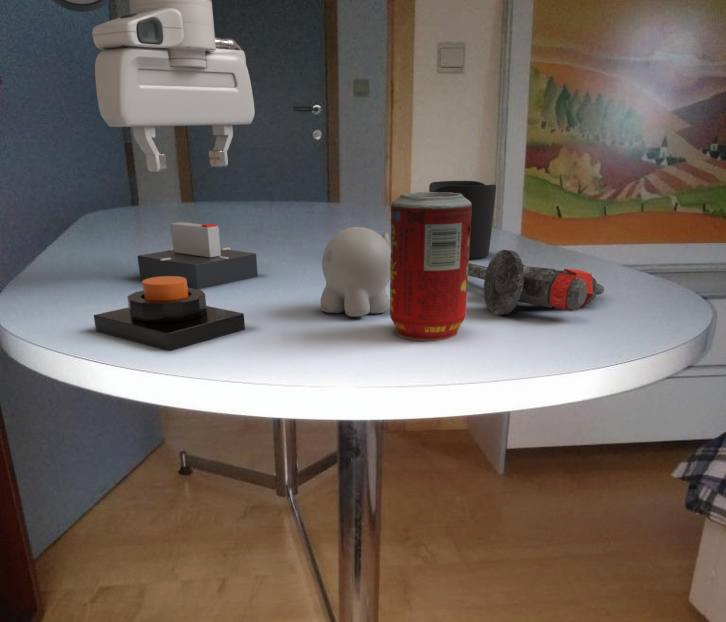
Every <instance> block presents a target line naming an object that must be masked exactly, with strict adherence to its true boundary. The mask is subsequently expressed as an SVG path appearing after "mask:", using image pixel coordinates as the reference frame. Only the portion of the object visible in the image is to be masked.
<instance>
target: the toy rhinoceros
mask: <svg viewBox="0 0 726 622" xmlns="http://www.w3.org/2000/svg"><path fill="white" fill-rule="evenodd" d="M390 259H391V238H389V234H388V232H387V231H384V232H383V234H382V235H381V234H379V233H378V232H377V231H375V230H374V229H371V228H368V227H363V226H352V227H347V228H345V229H342V230H340V231H339V232H337V233H336V234H335V235H334V236H332V237H331V239H329V241H328V243H327V244H326V245H325V248H324V251H323V254H322V259H321V267H322V274H323V277H324V279H325V286H324V289H323V291H322V293H321V296H320V302H319V303H320V309H321V310H322V311H323V312H325V313H329V314H342V313H343V312H344V313H345V315H346V316H348V317H351V318H355V317H365V316H366V315H368V314H374V315H375V314H383V313H386V312H387V311H388V309H389V296H388V293H387V289H386V288H387V286H388V284H389V283H390Z"/></svg>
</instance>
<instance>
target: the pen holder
mask: <svg viewBox="0 0 726 622" xmlns="http://www.w3.org/2000/svg"><path fill="white" fill-rule="evenodd" d="M428 186H429V187H428V192H439V193H440V192H447V193H460V194H462V195H463V196H464V197H465V198H466V199H467V200H469V201H470V202H471V204H472V216H471V233H470V250H469V261H476V260H482V259H485V258H487V257H488V256H489V255H490V254H489V253H490V246H491V240H492V230H493V221H494V213H495V203H496V194H497V185H496V184H494V183H493V184H485V183H484V182H480V181H476V180H441V181H440V180H439V181H432V182H430V183H429V185H428Z"/></svg>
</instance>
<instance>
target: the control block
mask: <svg viewBox="0 0 726 622" xmlns="http://www.w3.org/2000/svg"><path fill="white" fill-rule="evenodd" d="M188 296H189V297H186V298H181V299H176V300H165V301H159V300H146V299H145V298H144V291H143V290H138V291H135V292H132V293H131V294H128V295H127V305H128V307H123V308H119V309H115V310H111V311H105V312H102V313H97V314H93V321H94V326H95V331H96V332H97V333H99V334H100V333H101V334H104V335H108V336H110V337H111V336H112V337H115V338H119V339H124V340H127V341H130V342H135V343H137V344H142V345H145V346H149V347H153V348H157V349H161V350H164V351H167V352H173V351H176V350H179V349H183V348H186V347H189V346H193V345H196V344H200V343H203V342H207V341H211V340H214V339H218V338H221V337H225V336H228V335H232V334H235V333H238V332H242V331H245V330H246V324H245V314H244V312H238V311H233V310H229V309H223V308H219V307H215V306H209V305H207V301H206V300H207V299H206V293H205V292H204V291H203V290H202V289H193V288H188Z"/></svg>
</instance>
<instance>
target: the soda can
mask: <svg viewBox="0 0 726 622" xmlns="http://www.w3.org/2000/svg"><path fill="white" fill-rule="evenodd" d="M471 216H472V204H471V202H470V201H469V200H467V199H466V198H465V197H464V196H463V195H462V194H460V193H447V192H440V193H439V192H429V191H419V192H414V193H411V192H407V193H406V192H405V193H402V194H400V195H399V196H398V197H397V198H395V199H394V200H393V201H392V203H391V205H390V239H391V259H390V280H389V316H390V319H391V321H392V323H393V324H394V327H395V329H396V334H397V336H399V337H401V338H403V339H408V340H413V341H420V342H421V341H422V342H434V341H435V342H436V341H437V342H438V341H444V340H445V341H446V340H450V339H453V338H455V337H457V335H458V332H459V329H460V328H461V326H462V324H463V323H464V321H465V319H466V315H467V298H468V297H467V296H468V284H469V283H468V281H469V276H468V267H469V263H470V260H469V250H470V233H471Z"/></svg>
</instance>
